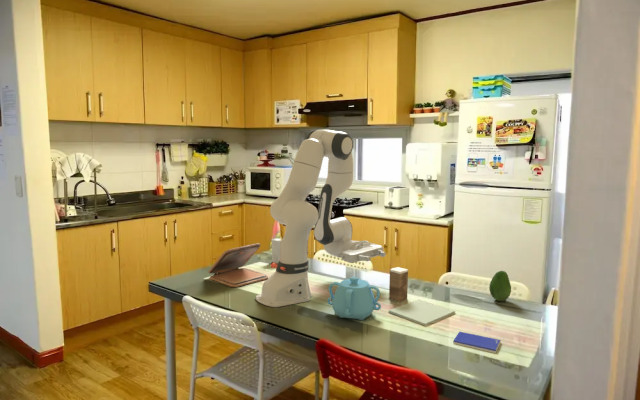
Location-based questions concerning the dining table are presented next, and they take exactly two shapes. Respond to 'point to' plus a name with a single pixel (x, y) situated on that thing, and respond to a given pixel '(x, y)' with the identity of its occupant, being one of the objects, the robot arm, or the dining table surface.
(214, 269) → the case
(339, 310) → the decorative pot
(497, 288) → the fruit
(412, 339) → the dining table surface
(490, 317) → the dining table surface
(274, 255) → the skincare box
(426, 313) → the sage mat
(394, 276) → the walnut block
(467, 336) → the hard drive
